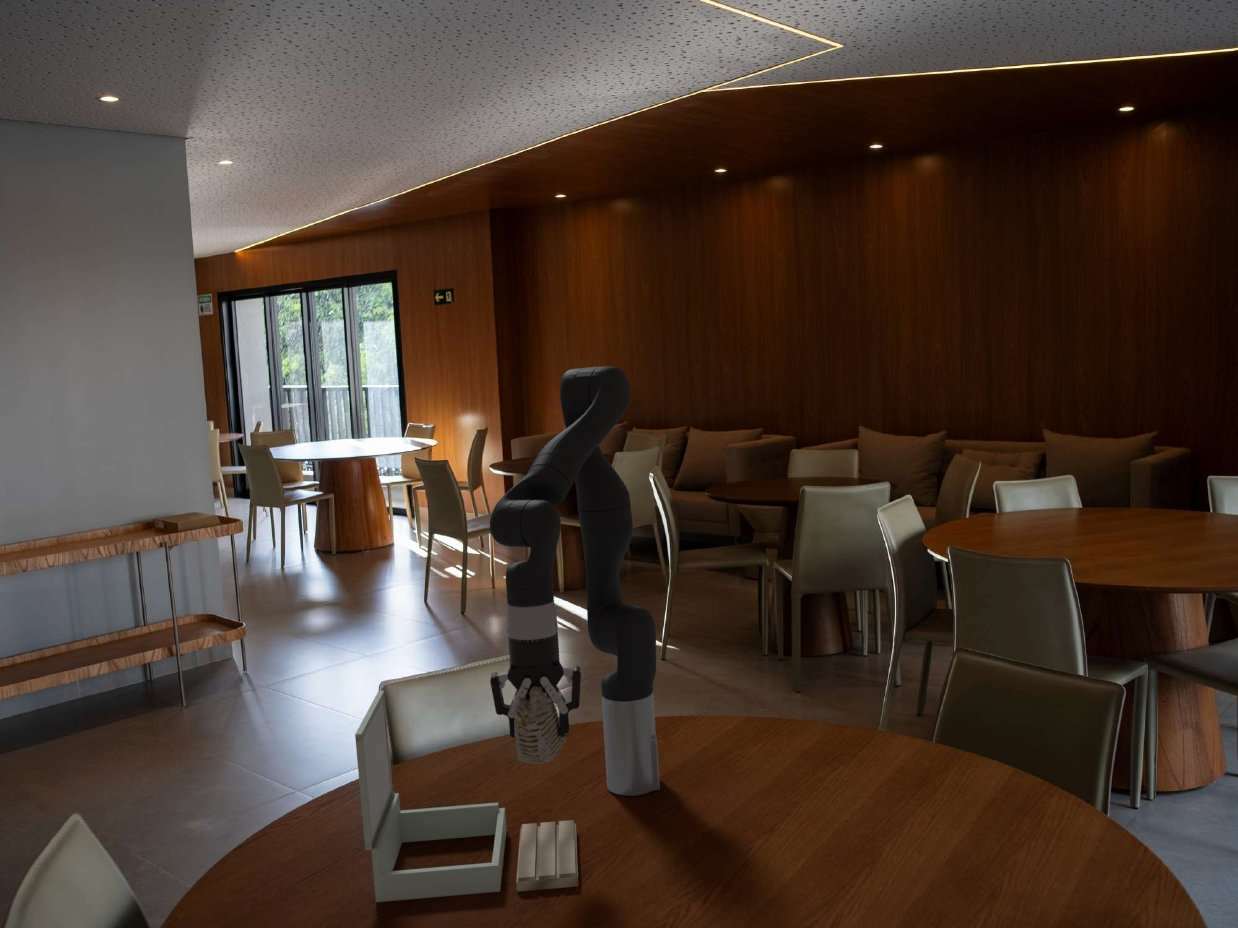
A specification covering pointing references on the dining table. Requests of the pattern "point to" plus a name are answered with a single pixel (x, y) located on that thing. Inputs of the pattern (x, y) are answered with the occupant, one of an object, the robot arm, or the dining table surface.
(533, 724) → the fossil tooth
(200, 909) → the dining table surface
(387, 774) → the cold frame
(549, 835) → the slatted stand
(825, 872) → the dining table surface
